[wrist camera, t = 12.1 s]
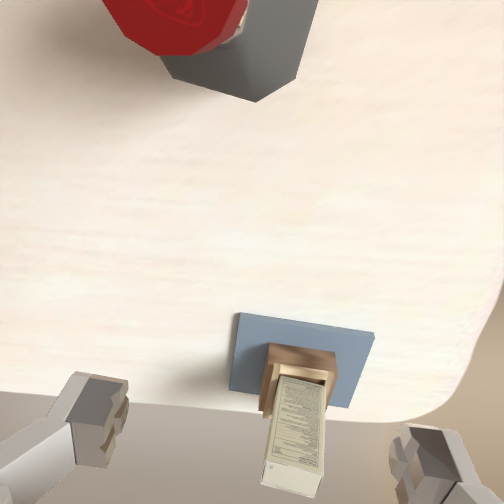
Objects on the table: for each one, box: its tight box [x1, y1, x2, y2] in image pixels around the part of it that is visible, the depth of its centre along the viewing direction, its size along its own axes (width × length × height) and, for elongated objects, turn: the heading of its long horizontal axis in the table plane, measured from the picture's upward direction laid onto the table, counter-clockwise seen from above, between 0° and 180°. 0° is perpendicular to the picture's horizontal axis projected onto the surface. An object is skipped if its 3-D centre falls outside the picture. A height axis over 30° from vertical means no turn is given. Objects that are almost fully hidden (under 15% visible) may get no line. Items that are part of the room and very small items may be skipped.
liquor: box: [102, 0, 318, 103], centre depth 23 cm, size 9×9×30 cm
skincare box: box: [260, 376, 326, 498], centre depth 46 cm, size 6×4×12 cm
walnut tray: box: [258, 342, 338, 419], centre depth 54 cm, size 9×10×5 cm
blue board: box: [229, 313, 375, 408], centre depth 56 cm, size 18×14×1 cm
